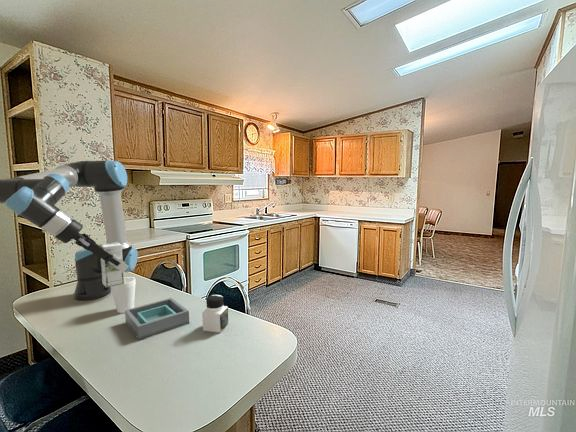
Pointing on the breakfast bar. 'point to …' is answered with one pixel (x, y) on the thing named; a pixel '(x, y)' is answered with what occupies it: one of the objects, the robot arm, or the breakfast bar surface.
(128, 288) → the foam cup
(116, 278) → the syrup box
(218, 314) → the medicine bottle
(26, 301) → the breakfast bar surface
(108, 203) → the robot arm
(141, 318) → the walled box
